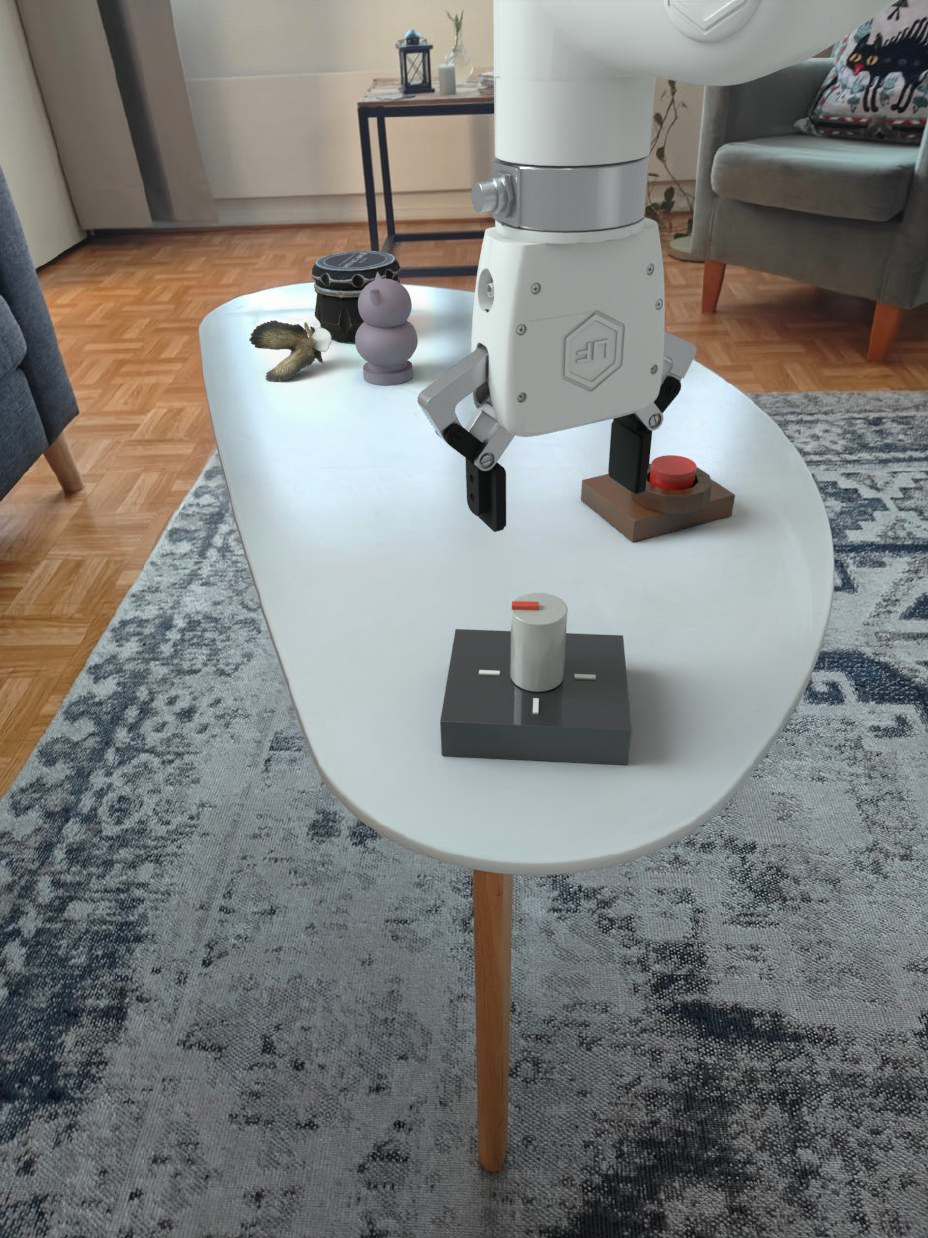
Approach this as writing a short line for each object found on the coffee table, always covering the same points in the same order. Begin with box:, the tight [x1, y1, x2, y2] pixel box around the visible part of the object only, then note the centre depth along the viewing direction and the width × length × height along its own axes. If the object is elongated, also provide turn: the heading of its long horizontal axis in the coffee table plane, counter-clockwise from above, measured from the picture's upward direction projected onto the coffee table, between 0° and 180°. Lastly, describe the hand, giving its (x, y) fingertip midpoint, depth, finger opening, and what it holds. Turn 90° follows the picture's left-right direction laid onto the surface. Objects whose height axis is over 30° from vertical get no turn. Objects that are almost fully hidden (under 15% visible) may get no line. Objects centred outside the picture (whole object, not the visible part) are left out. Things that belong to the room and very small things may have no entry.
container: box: [310, 250, 402, 344], centre depth 127 cm, size 13×13×10 cm
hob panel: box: [439, 628, 633, 766], centre depth 61 cm, size 12×10×3 cm
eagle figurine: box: [248, 319, 332, 382], centre depth 116 cm, size 8×7×9 cm
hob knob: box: [510, 592, 569, 692], centre depth 59 cm, size 4×4×6 cm
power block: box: [580, 463, 736, 543], centre depth 84 cm, size 11×10×4 cm
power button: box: [649, 454, 698, 490], centre depth 81 cm, size 4×4×2 cm
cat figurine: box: [354, 271, 419, 386], centre depth 112 cm, size 8×8×12 cm
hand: (559, 502), depth 55 cm, fingers open, 9 cm apart
